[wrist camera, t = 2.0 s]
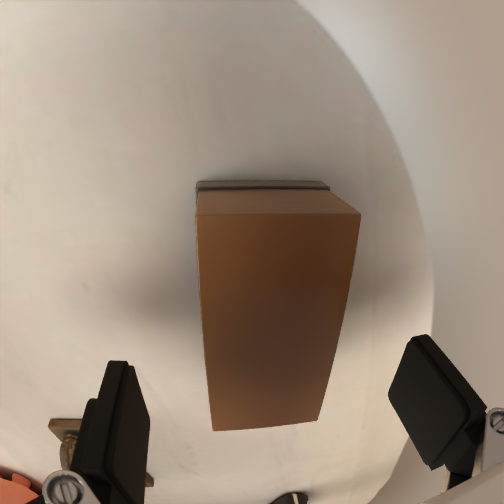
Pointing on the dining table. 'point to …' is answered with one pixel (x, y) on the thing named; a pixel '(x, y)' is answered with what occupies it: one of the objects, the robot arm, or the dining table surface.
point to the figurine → (74, 442)
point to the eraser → (271, 296)
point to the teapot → (16, 490)
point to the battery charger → (292, 499)
